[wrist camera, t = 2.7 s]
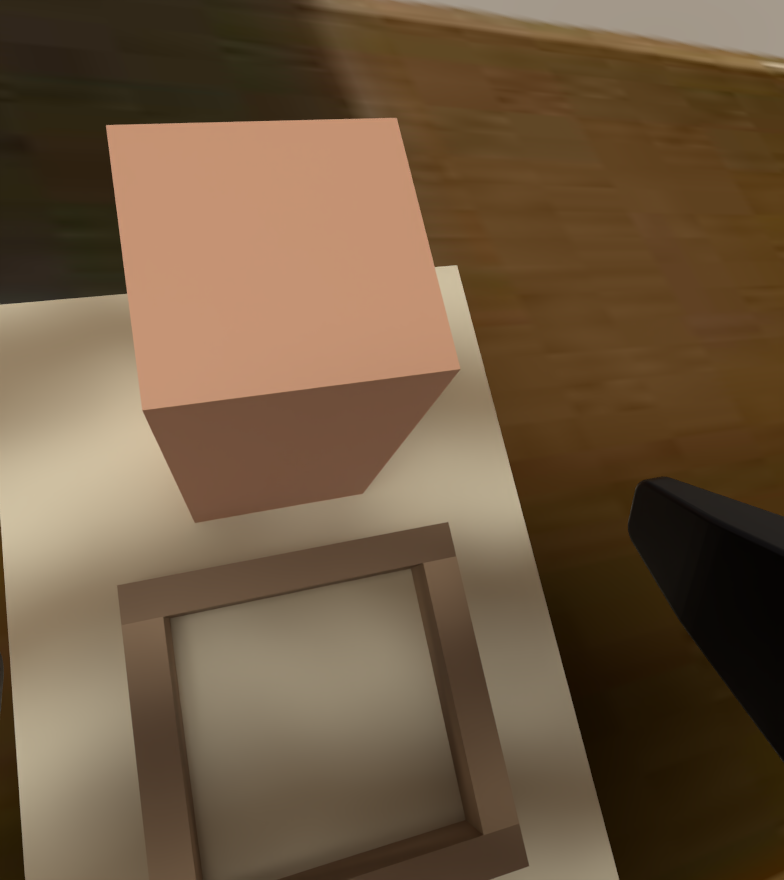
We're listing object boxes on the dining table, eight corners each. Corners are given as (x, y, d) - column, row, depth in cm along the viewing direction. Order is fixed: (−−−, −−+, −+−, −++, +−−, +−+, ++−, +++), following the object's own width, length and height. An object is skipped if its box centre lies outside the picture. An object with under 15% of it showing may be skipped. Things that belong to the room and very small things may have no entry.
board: (604, 881, 19) (653, 915, 17) (53, 1081, 16) (19, 1159, 13) (449, 279, 24) (470, 241, 22) (-2, 321, 20) (-35, 280, 18)
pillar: (362, 493, 20) (460, 369, 11) (194, 522, 19) (142, 410, 10) (332, 345, 21) (396, 117, 12) (172, 363, 20) (105, 125, 11)
